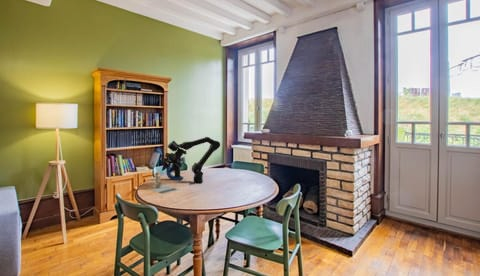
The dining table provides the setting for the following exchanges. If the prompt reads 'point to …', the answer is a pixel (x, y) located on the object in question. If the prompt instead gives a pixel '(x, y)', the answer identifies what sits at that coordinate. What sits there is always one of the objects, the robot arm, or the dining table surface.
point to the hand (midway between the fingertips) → (165, 171)
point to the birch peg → (158, 180)
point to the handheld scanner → (177, 171)
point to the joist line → (167, 190)
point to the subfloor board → (163, 188)
